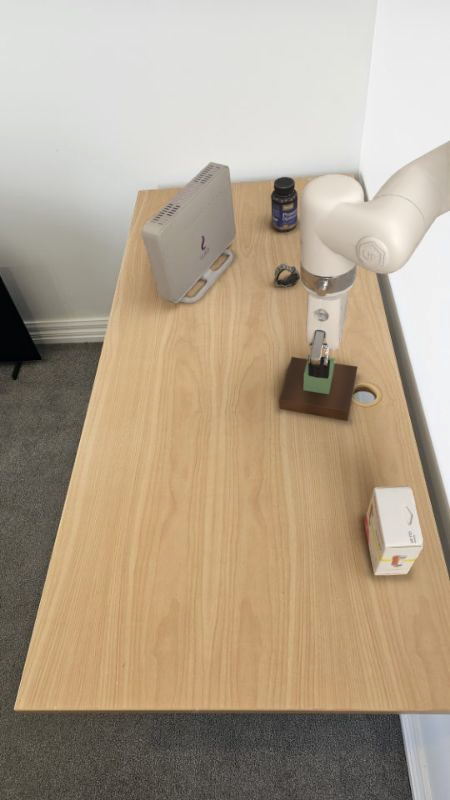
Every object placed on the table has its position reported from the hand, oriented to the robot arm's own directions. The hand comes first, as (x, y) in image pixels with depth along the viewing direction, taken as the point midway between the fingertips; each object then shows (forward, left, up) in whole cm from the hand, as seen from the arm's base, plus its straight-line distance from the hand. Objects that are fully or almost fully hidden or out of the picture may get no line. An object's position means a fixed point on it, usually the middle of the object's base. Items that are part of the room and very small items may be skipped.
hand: (324, 353), depth 82 cm
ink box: (-14, +25, -11) cm, 31 cm away
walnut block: (0, 0, -11) cm, 11 cm away
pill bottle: (+17, -48, -11) cm, 52 cm away
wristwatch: (+12, -28, -11) cm, 33 cm away
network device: (+32, -28, -11) cm, 44 cm away
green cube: (+1, 0, -8) cm, 8 cm away
